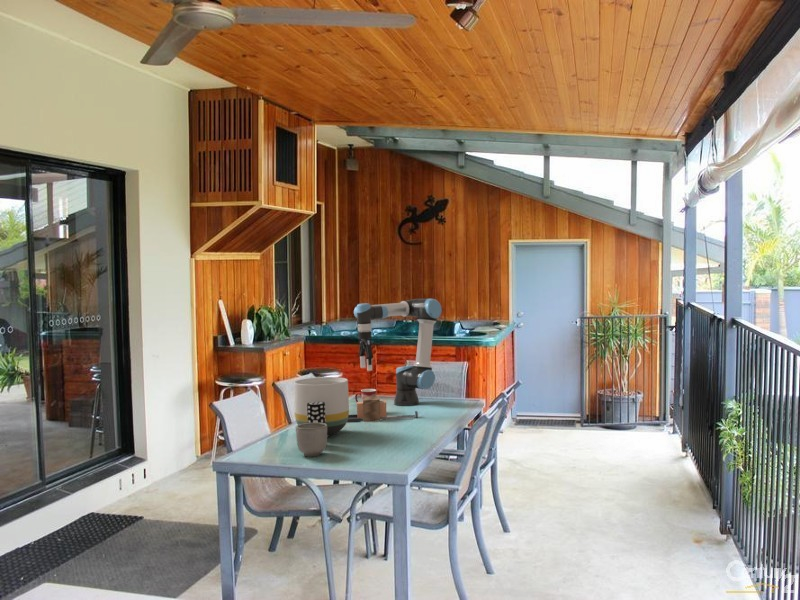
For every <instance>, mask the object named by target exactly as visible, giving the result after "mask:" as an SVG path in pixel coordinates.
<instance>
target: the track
mask: <svg viewBox="0 0 800 600" xmlns="http://www.w3.org/2000/svg"><path fill="white" fill-rule="evenodd" d="M395 418H413V419H418V418H419V416H418V410H415V411H414V414H407V415H406V414H405V415H387V417H380V420H382V419H395ZM360 421H364V418H360Z"/></svg>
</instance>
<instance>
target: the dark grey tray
mask: <svg viewBox="0 0 800 600" xmlns="http://www.w3.org/2000/svg"><path fill="white" fill-rule="evenodd" d="M347 423H361V418H357V413H355V414H354V413H353V414H349V416H348V420H347Z"/></svg>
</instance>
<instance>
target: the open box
mask: <svg viewBox="0 0 800 600" xmlns="http://www.w3.org/2000/svg"><path fill="white" fill-rule="evenodd" d="M380 401H381V400H380V395H376V396H370V397H363V413H364V420H363V422H365V423H366V422H381V419H380Z"/></svg>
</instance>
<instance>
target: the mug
mask: <svg viewBox="0 0 800 600" xmlns="http://www.w3.org/2000/svg"><path fill="white" fill-rule="evenodd" d="M358 395H360V397H361V402H363V397H370V396H377V389H375V388H364V389H360V392H356V394H355V403H357V402H359V400H358Z"/></svg>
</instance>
